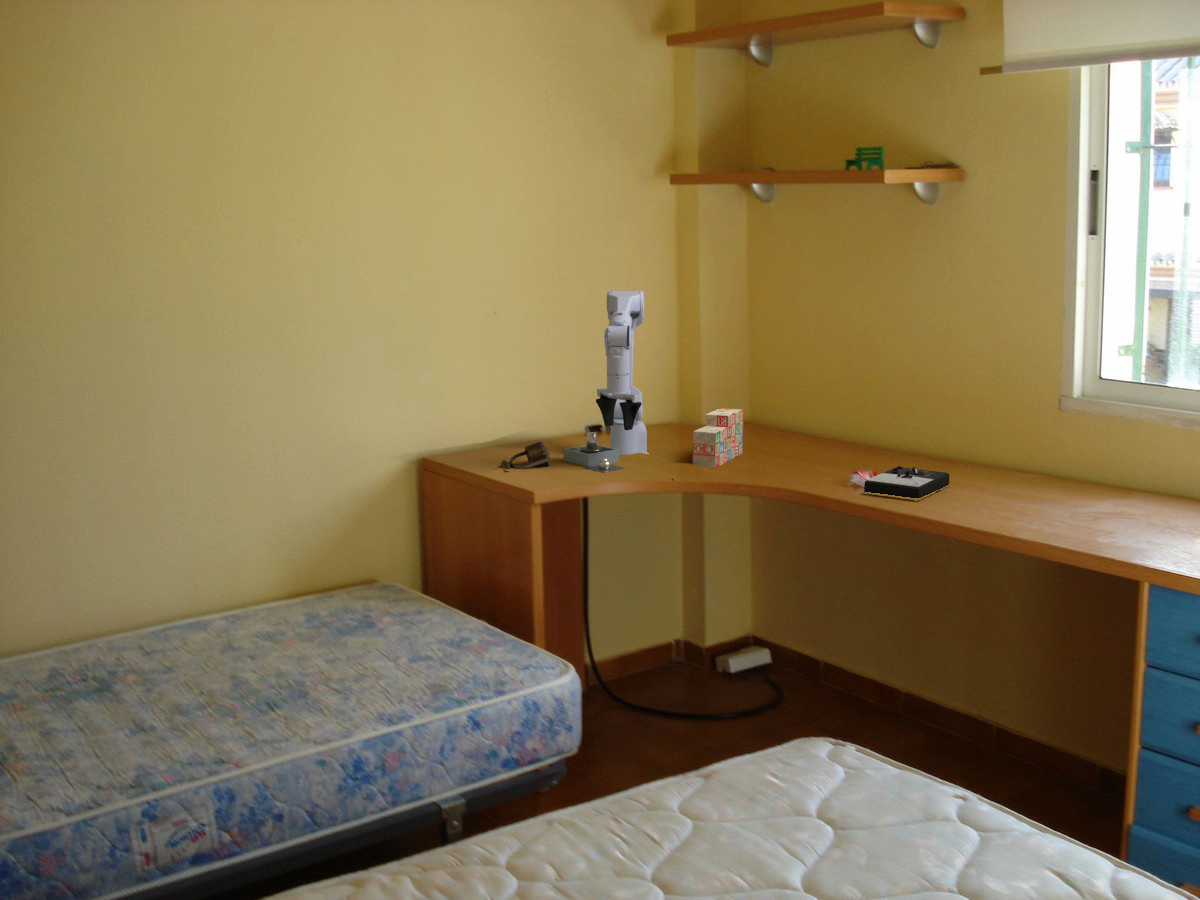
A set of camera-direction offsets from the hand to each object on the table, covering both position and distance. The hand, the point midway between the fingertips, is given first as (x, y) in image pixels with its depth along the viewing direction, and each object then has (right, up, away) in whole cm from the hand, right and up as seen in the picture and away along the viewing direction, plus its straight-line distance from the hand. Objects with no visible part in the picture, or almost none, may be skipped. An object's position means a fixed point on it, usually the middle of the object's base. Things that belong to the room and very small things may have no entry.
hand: (618, 427), depth 309 cm
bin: (-7, -9, +7) cm, 14 cm away
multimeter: (+66, -15, -25) cm, 72 cm away
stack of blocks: (+26, -9, +12) cm, 30 cm away
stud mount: (-4, -11, -2) cm, 12 cm away
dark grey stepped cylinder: (-7, -9, +7) cm, 13 cm away
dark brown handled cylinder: (-23, -11, +2) cm, 26 cm away
